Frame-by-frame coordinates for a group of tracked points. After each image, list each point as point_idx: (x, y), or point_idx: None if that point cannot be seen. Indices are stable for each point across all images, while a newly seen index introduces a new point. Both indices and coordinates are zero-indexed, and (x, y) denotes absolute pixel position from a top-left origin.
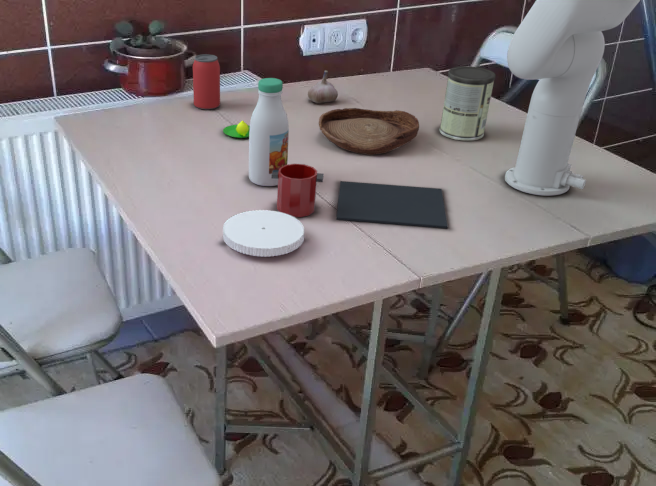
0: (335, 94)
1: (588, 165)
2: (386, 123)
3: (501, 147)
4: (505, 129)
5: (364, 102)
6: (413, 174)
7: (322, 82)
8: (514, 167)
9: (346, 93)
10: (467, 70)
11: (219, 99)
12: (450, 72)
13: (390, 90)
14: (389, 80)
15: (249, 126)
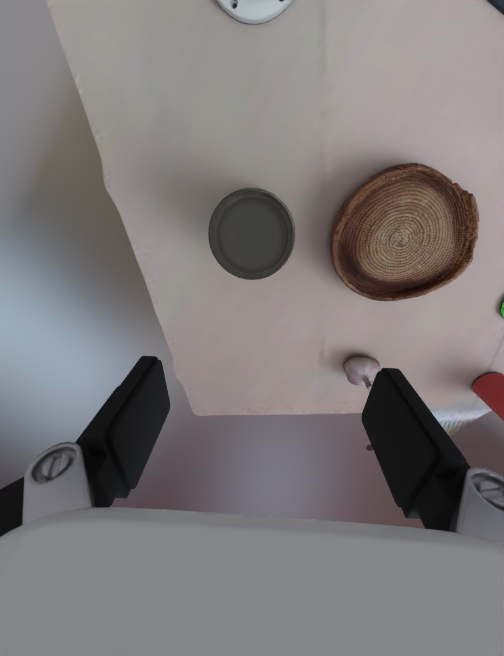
0: (354, 360)
1: (120, 12)
2: (366, 248)
3: (227, 149)
4: (187, 219)
5: (314, 350)
6: (428, 71)
7: (368, 378)
8: (268, 12)
9: (317, 377)
10: (249, 257)
11: (484, 382)
12: (287, 253)
13: (263, 373)
14: (248, 398)
15: (502, 313)
